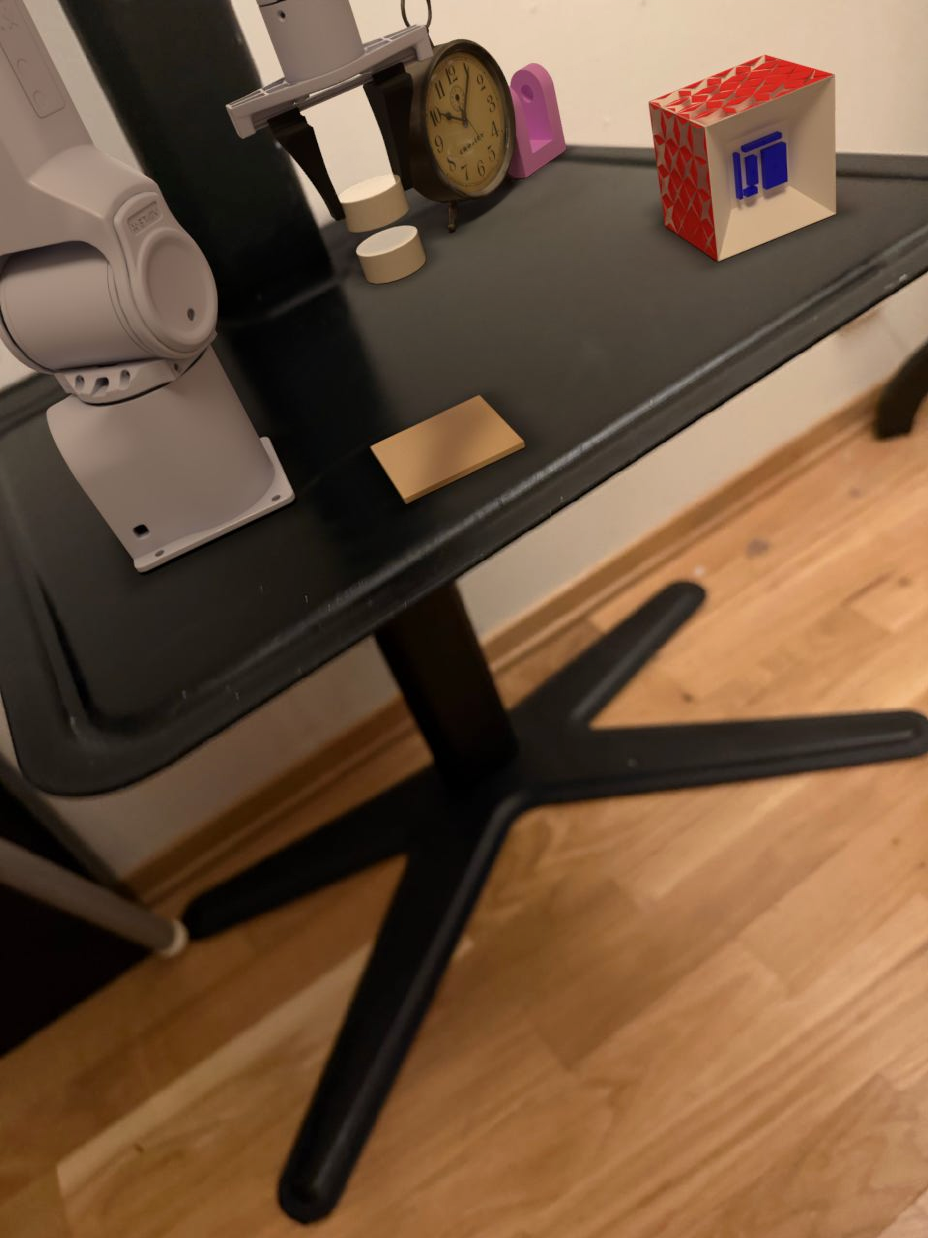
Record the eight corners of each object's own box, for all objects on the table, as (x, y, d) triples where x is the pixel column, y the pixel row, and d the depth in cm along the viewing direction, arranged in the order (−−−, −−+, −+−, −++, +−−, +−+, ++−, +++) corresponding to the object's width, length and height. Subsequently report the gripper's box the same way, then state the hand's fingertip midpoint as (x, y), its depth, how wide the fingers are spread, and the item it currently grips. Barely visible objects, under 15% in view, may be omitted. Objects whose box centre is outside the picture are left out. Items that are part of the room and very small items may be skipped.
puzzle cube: (772, 182, 62) (765, 53, 56) (836, 213, 56) (835, 73, 50) (663, 226, 62) (646, 101, 56) (716, 262, 56) (703, 127, 50)
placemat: (406, 504, 47) (403, 498, 46) (372, 451, 51) (369, 446, 51) (525, 447, 47) (523, 440, 47) (481, 400, 52) (479, 394, 52)
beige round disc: (376, 290, 68) (365, 262, 67) (358, 272, 72) (348, 245, 71) (435, 263, 69) (426, 235, 67) (414, 246, 72) (405, 219, 71)
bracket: (566, 149, 79) (549, 61, 74) (526, 177, 76) (505, 88, 72) (463, 150, 87) (442, 71, 82) (424, 176, 85) (400, 96, 80)
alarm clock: (458, 238, 71) (388, 2, 60) (409, 238, 74) (334, 14, 63) (534, 177, 76) (483, -52, 65) (485, 179, 79) (428, -38, 68)
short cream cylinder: (356, 238, 65) (345, 207, 64) (339, 223, 69) (329, 194, 68) (418, 211, 66) (408, 180, 64) (398, 198, 70) (389, 169, 68)
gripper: (382, -53, 62) (441, 153, 71) (188, 28, 60) (273, 227, 69) (414, -53, 56) (473, 170, 65) (202, 36, 55) (292, 251, 64)
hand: (372, 201), depth 67 cm, fingers closed on short cream cylinder, 5 cm apart
